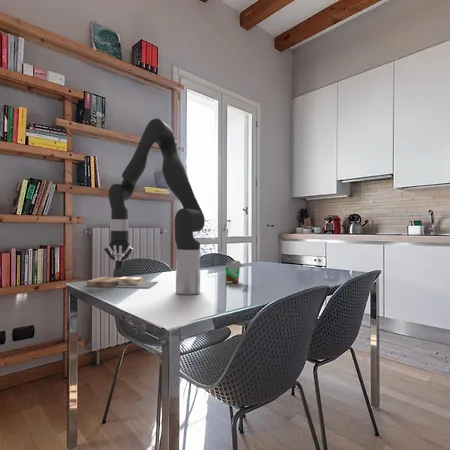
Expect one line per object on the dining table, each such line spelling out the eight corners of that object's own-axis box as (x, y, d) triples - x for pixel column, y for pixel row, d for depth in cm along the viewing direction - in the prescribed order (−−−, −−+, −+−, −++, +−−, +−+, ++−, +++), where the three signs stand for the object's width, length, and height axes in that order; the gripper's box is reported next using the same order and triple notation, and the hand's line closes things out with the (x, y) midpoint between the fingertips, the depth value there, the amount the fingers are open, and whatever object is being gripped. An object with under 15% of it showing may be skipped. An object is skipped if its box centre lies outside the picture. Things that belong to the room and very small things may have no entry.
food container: (238, 286, 146) (239, 263, 146) (225, 285, 147) (225, 263, 147) (242, 281, 158) (243, 260, 158) (230, 280, 160) (230, 260, 160)
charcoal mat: (157, 282, 150) (157, 281, 150) (149, 288, 136) (149, 287, 136) (126, 281, 151) (126, 280, 151) (114, 287, 137) (114, 286, 137)
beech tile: (142, 282, 147) (142, 277, 147) (138, 285, 141) (138, 279, 141) (122, 282, 147) (122, 276, 147) (117, 284, 141) (117, 278, 141)
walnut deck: (124, 281, 150) (124, 277, 150) (114, 286, 138) (114, 282, 138) (99, 281, 151) (99, 276, 151) (86, 286, 139) (87, 281, 139)
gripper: (137, 230, 147) (136, 268, 147) (108, 229, 148) (107, 268, 148) (131, 230, 140) (131, 270, 139) (101, 229, 140) (100, 270, 140)
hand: (119, 269), depth 144 cm, fingers closed
